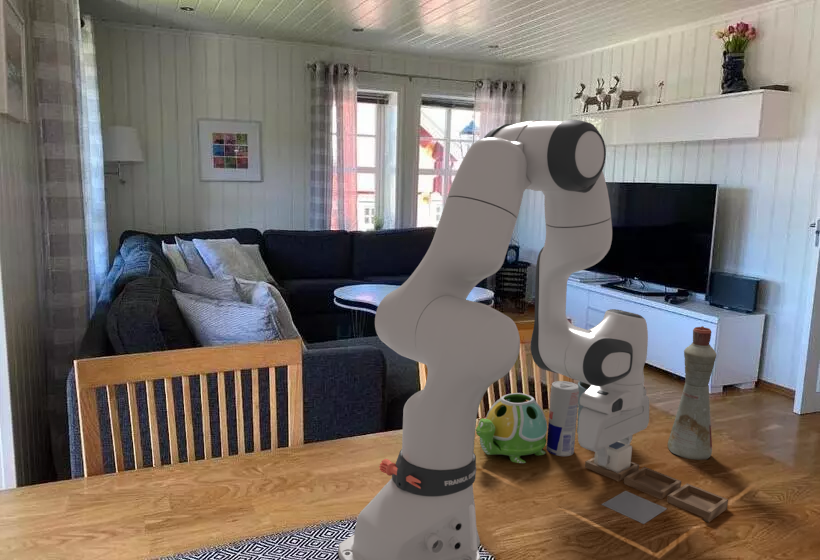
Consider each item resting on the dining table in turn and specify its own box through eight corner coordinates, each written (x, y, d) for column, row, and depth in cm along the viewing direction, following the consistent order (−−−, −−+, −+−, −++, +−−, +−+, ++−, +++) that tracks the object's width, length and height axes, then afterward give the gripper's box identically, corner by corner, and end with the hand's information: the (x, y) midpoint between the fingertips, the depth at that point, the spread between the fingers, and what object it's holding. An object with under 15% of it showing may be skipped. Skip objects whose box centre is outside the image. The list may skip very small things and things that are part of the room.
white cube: (616, 477, 122) (618, 451, 121) (593, 467, 125) (595, 442, 125) (629, 469, 125) (632, 445, 124) (607, 460, 129) (609, 436, 128)
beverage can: (571, 448, 136) (576, 381, 133) (575, 459, 130) (581, 389, 128) (544, 446, 136) (549, 379, 134) (547, 457, 131) (553, 387, 128)
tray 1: (618, 484, 120) (619, 475, 120) (584, 469, 126) (585, 461, 125) (638, 473, 125) (639, 464, 125) (605, 459, 130) (605, 451, 130)
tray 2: (660, 502, 114) (661, 493, 114) (623, 486, 119) (624, 477, 119) (680, 490, 119) (681, 481, 118) (643, 475, 124) (644, 466, 124)
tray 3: (708, 522, 108) (709, 512, 107) (666, 504, 113) (667, 495, 113) (726, 508, 112) (728, 499, 112) (686, 492, 118) (687, 483, 118)
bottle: (657, 450, 136) (670, 323, 132) (682, 442, 141) (696, 319, 136) (694, 466, 129) (709, 332, 124) (719, 457, 134) (735, 327, 129)
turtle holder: (454, 455, 130) (457, 399, 128) (513, 435, 142) (517, 383, 140) (498, 478, 121) (502, 419, 119) (558, 455, 132) (562, 400, 130)
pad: (643, 527, 105) (643, 523, 105) (601, 507, 111) (601, 504, 111) (666, 511, 111) (667, 508, 111) (625, 493, 117) (625, 490, 116)
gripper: (631, 378, 132) (625, 441, 134) (574, 398, 118) (568, 467, 121) (660, 386, 127) (654, 451, 129) (604, 408, 114) (598, 480, 116)
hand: (612, 459), depth 125 cm, fingers closed on white cube, 5 cm apart
